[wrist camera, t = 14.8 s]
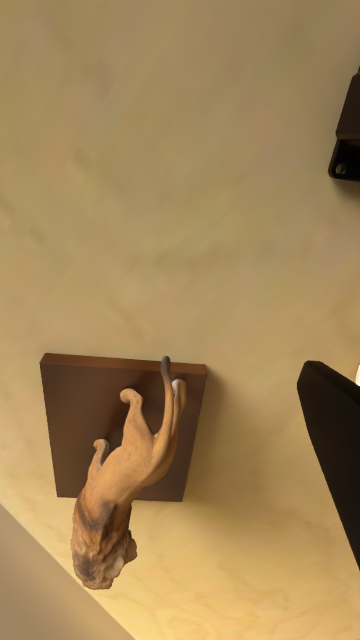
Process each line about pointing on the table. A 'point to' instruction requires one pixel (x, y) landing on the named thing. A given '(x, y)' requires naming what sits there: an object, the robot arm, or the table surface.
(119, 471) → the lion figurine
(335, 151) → the robot arm
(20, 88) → the table surface
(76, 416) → the walnut board
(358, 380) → the shaker set
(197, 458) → the table surface
